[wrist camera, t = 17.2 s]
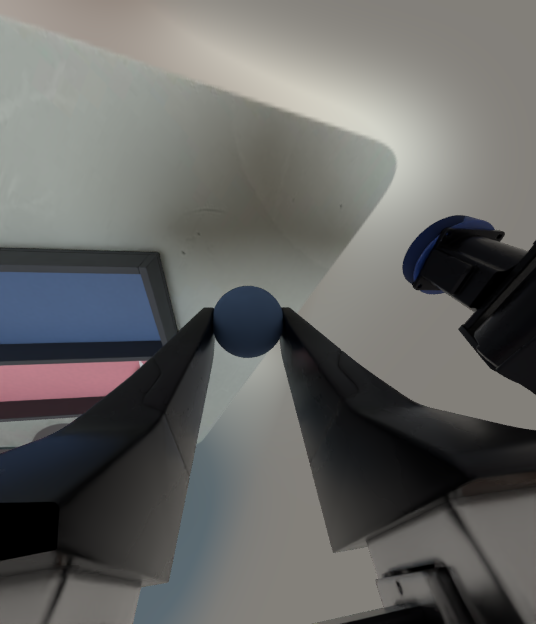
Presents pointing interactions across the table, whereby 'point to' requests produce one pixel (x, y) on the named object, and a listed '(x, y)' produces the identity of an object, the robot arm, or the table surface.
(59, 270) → the tray
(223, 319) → the slate ball
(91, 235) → the table surface
